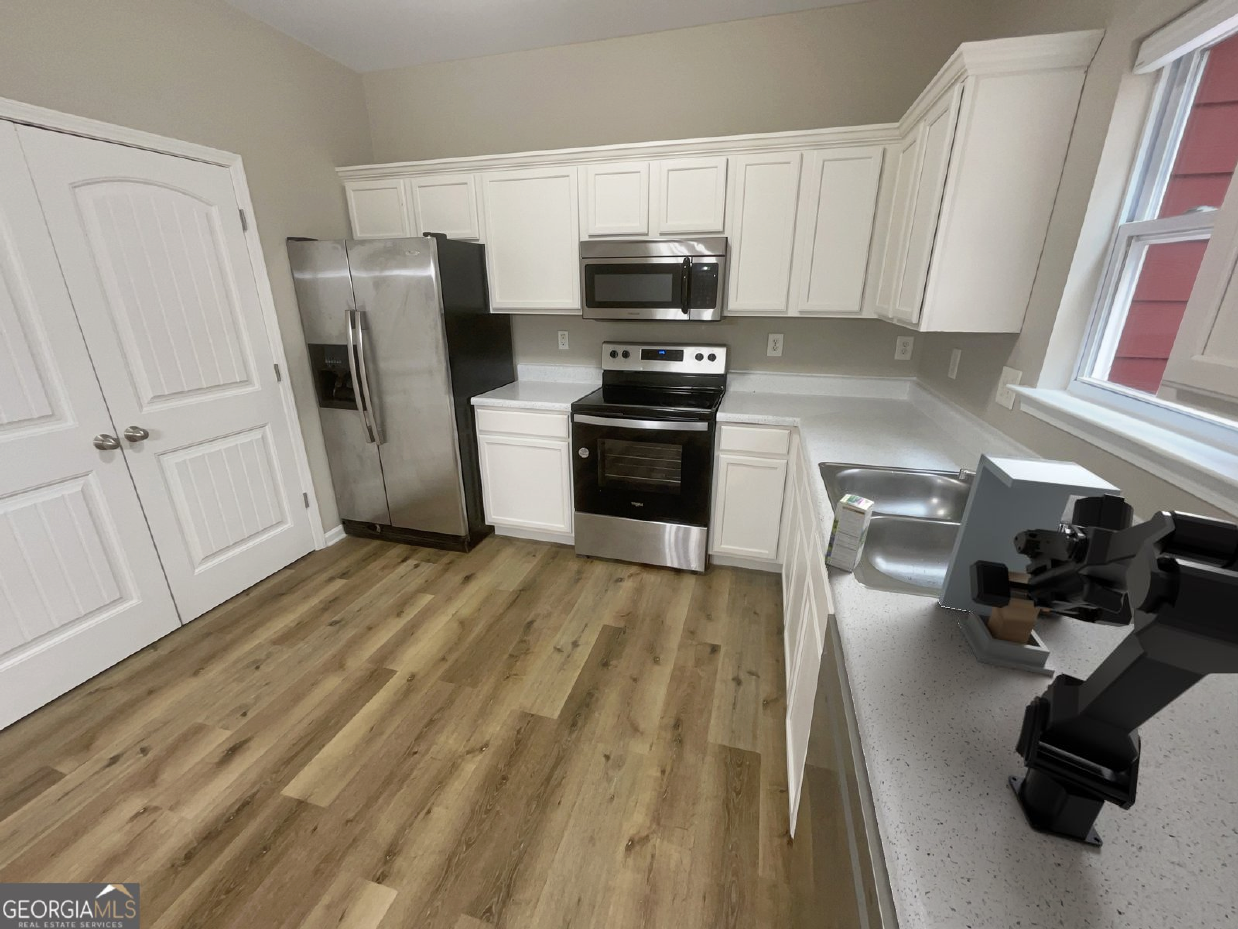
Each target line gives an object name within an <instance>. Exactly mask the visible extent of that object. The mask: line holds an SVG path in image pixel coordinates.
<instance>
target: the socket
mask: <svg viewBox="0 0 1238 929" xmlns="http://www.w3.org/2000/svg"><path fill="white" fill-rule="evenodd" d="M990 616H991V614H990V613H984V612H978V611H972V610H971V611H970V613H969V615H968V618H967V619H966V618H962V617H961V618H960V617H959V618H958V620H957V622H958V623H959V625H960V627H961V629H960V630H961V632H962V631H963V632H962V634H963V633H964V634H963V636H964V635H965V636H964V638H965V639H966V641H967V643H968V645H969V647H970V648H971V650H972V653H973V654H974V655H975V657H976V660H977V661H978V663H984V664H989V665H995V666H999V667H1004V668H1010V669H1015V670H1019V671H1020V670H1021V671H1025V672H1031V673H1036V674H1040V675H1041V674H1042V675H1045V676H1052V677H1054V675H1055V672H1056V670H1055V668H1054V667H1053V665H1052V664H1051V663H1050V662H1049V659H1048V658H1049V656H1050V654H1051V651H1050V650H1049V649H1048V647H1047V646H1046V645H1045V643H1044V642H1043V641H1042V639H1041V638H1040V636H1039V635H1038V634H1037V633H1036V631H1035V630H1034V628H1033V629H1032V632H1031V634H1030V637H1029V639H1028V642H1027V645H1025V644H1019V643H1014V642H1008V641H1003V640H997V639H993V638H992V636H991V634H990V633H989V631H988V629H987V628H986V627H987V624H988V621H989V618H990ZM958 623H957V624H958ZM959 625H958V626H959ZM960 627H959V628H960Z"/></svg>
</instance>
